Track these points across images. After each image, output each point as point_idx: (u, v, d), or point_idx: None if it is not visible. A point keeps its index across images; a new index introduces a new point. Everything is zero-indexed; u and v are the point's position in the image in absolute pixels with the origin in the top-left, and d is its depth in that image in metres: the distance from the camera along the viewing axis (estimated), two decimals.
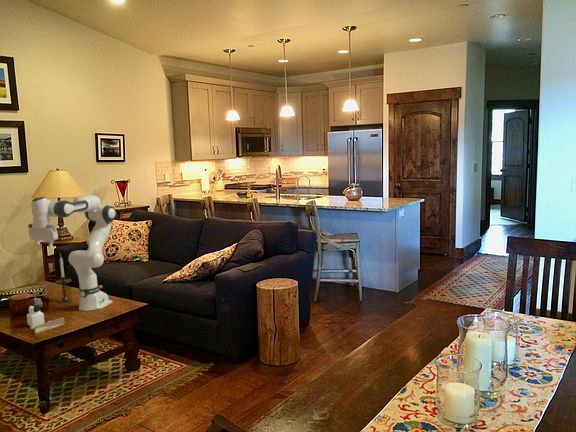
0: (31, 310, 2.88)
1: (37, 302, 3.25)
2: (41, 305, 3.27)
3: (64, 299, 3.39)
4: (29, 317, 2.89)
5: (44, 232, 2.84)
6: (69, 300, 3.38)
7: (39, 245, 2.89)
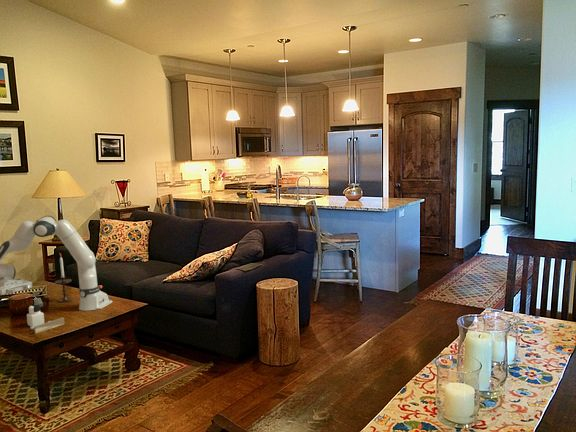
0: (31, 310, 2.88)
1: (38, 302, 3.25)
2: (41, 305, 3.27)
3: (64, 299, 3.39)
4: (29, 317, 2.89)
5: None
6: (69, 300, 3.38)
7: (27, 288, 3.00)
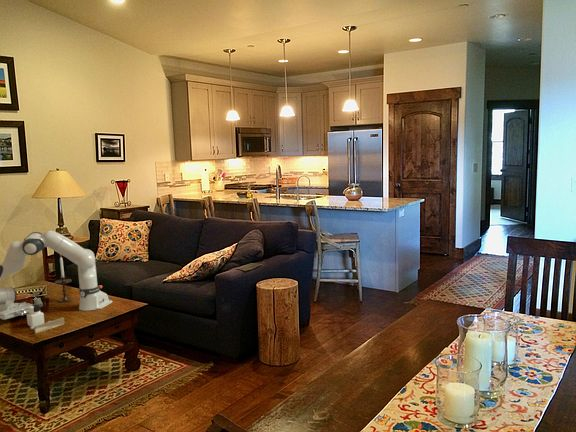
0: (31, 310, 2.88)
1: (37, 302, 3.25)
2: (41, 305, 3.27)
3: (64, 299, 3.39)
4: (29, 317, 2.89)
5: None
6: (69, 300, 3.38)
7: None
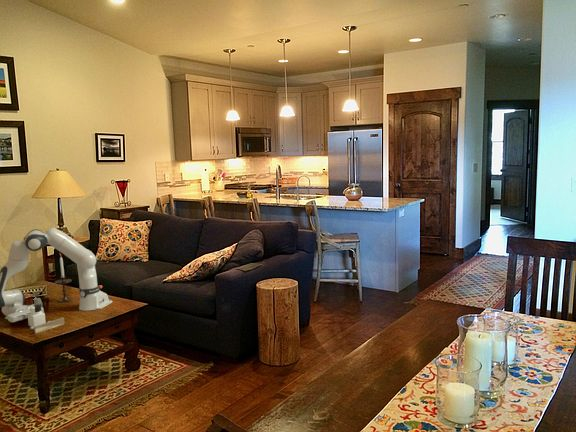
0: (32, 310, 2.88)
1: (37, 302, 3.26)
2: (41, 305, 3.27)
3: (64, 299, 3.39)
4: (30, 317, 2.88)
5: None
6: (69, 300, 3.38)
7: None
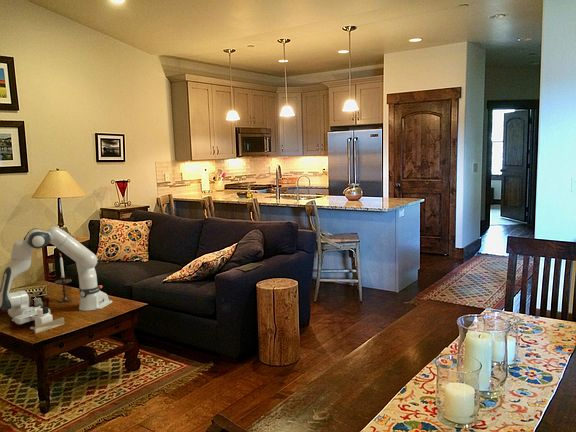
0: (40, 312, 2.84)
1: (38, 302, 3.26)
2: (41, 305, 3.27)
3: (64, 299, 3.39)
4: (38, 319, 2.84)
5: None
6: (69, 300, 3.38)
7: None
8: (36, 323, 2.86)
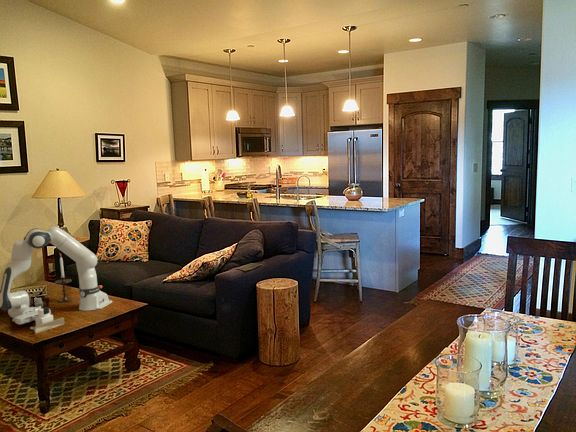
0: (41, 312, 2.84)
1: (38, 302, 3.26)
2: (42, 305, 3.27)
3: (64, 299, 3.39)
4: (39, 319, 2.84)
5: None
6: (69, 300, 3.38)
7: None
8: (37, 323, 2.85)
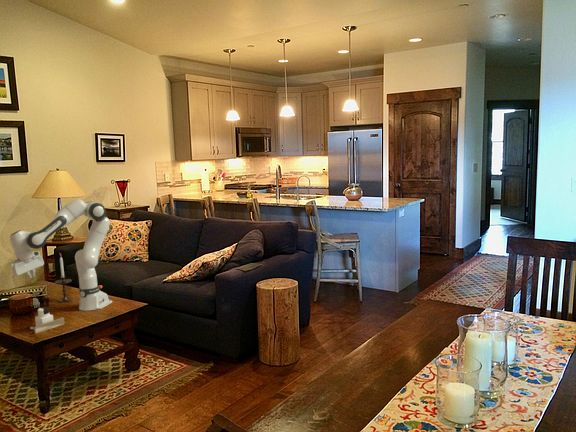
0: (41, 312, 2.84)
1: (34, 303, 3.25)
2: (38, 305, 3.26)
3: (64, 299, 3.39)
4: (39, 319, 2.84)
5: None
6: (69, 300, 3.38)
7: None
8: (37, 323, 2.85)
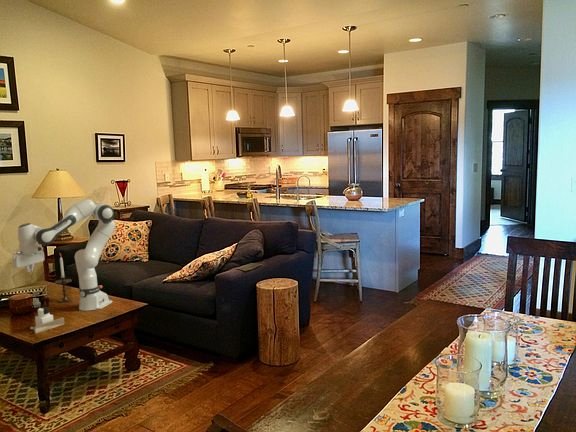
0: (41, 312, 2.84)
1: (35, 302, 3.25)
2: (39, 305, 3.26)
3: (64, 299, 3.39)
4: (39, 319, 2.84)
5: None
6: (69, 300, 3.38)
7: None
8: (37, 323, 2.85)
